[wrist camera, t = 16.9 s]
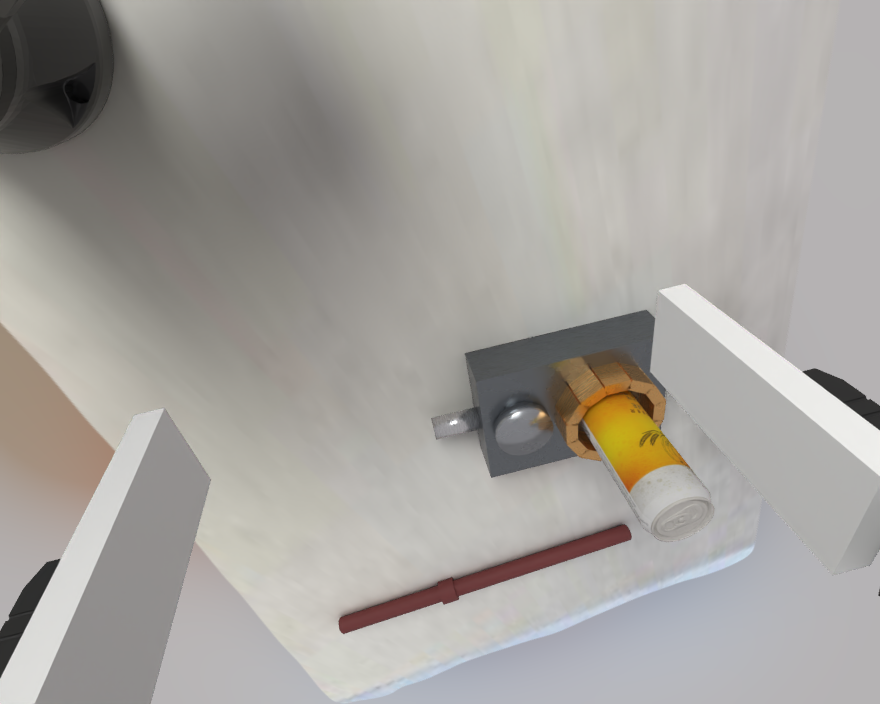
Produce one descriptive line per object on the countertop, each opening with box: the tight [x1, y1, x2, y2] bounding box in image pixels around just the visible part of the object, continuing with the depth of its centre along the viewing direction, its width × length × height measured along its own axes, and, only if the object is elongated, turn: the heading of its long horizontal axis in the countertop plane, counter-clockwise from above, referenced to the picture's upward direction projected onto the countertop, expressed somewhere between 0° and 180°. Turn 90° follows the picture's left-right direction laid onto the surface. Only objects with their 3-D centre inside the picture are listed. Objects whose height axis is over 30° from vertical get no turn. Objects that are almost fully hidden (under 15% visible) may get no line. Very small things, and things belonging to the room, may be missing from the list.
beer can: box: [579, 390, 714, 542], centre depth 47 cm, size 6×6×15 cm
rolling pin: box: [339, 525, 632, 634], centre depth 74 cm, size 45×3×3 cm, turn 106°
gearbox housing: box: [431, 310, 666, 478], centre depth 53 cm, size 25×14×8 cm, turn 100°
